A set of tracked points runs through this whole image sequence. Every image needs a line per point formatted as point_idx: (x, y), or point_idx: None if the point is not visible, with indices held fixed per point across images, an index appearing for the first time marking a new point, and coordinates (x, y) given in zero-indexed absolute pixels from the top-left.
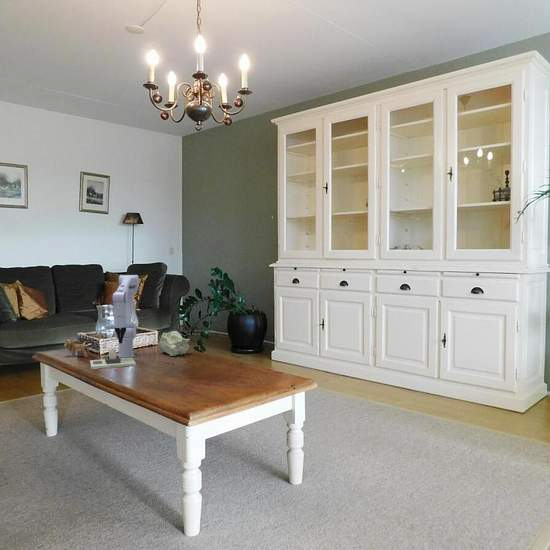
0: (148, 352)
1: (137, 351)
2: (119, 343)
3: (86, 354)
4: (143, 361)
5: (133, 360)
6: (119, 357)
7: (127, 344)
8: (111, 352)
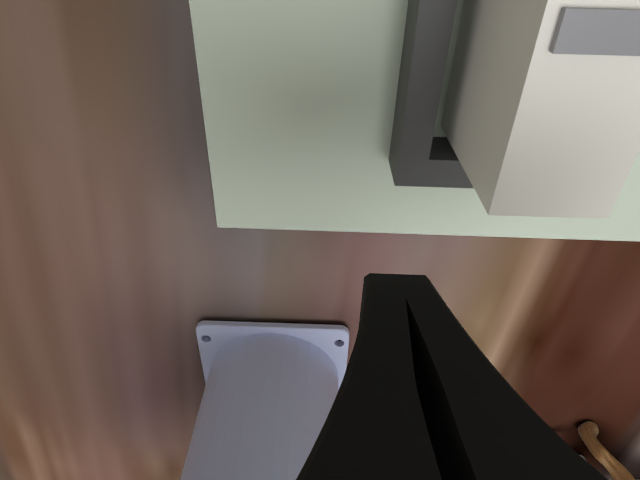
0: (88, 423)
1: (179, 466)
2: (423, 275)
3: (598, 444)
4: (76, 65)
5: (200, 20)
6: (418, 37)
7: (246, 445)
8: None
